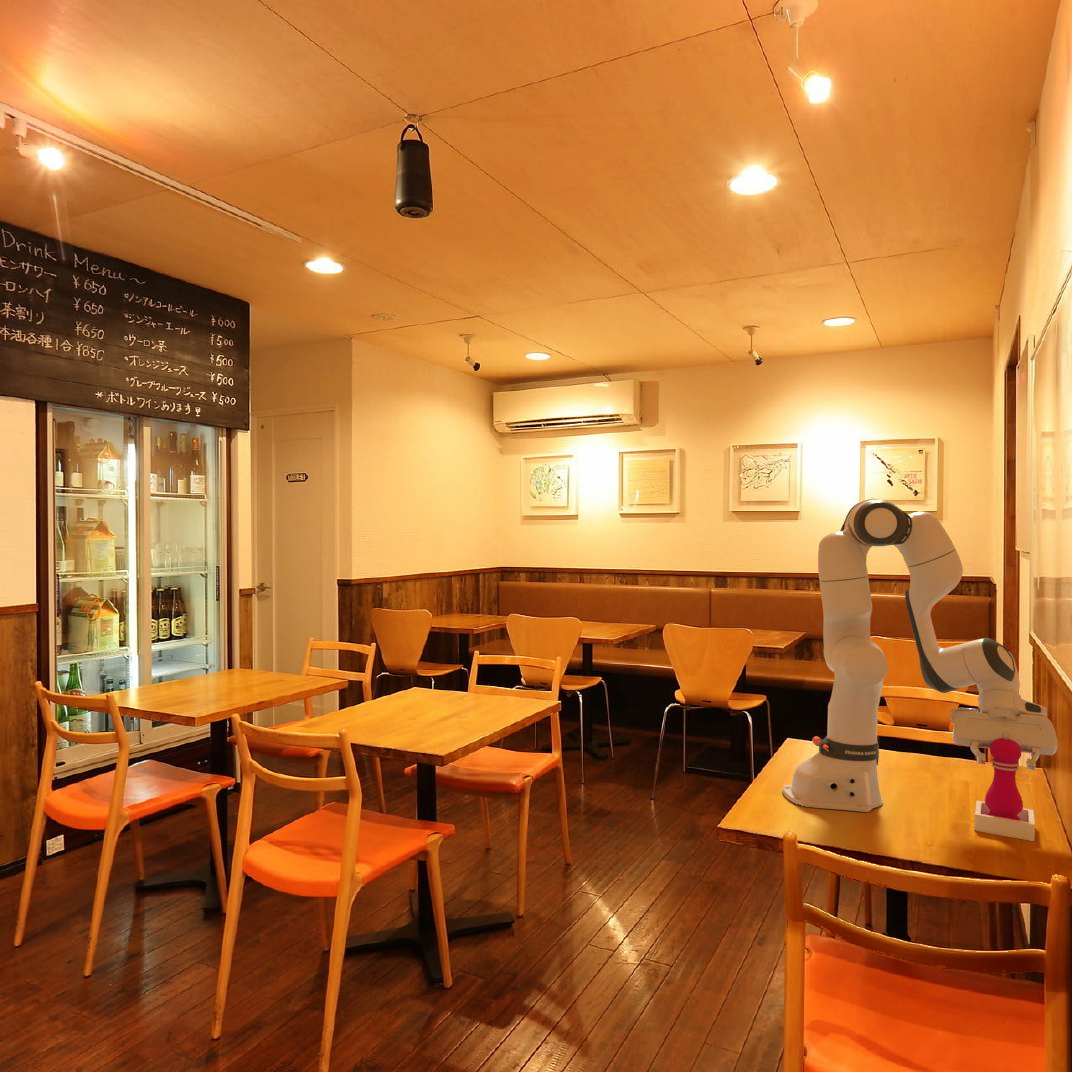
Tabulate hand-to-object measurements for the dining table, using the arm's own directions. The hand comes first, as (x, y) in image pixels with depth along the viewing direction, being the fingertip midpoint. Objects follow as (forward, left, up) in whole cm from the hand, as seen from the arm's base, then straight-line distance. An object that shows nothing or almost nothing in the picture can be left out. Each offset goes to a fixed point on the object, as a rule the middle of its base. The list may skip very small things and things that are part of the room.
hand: (1006, 765), depth 177 cm
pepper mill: (0, +1, -13) cm, 13 cm away
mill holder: (0, +1, -14) cm, 14 cm away
